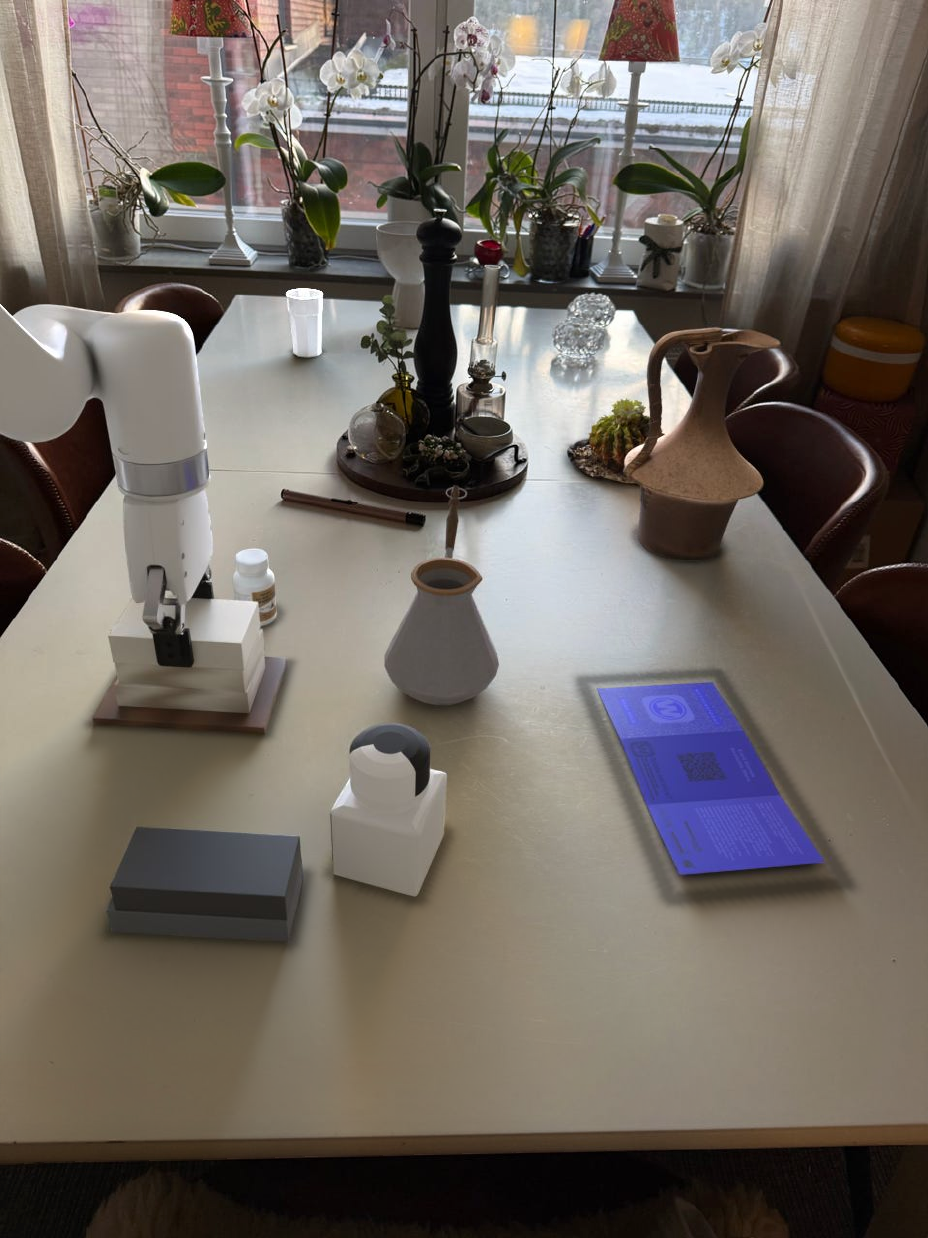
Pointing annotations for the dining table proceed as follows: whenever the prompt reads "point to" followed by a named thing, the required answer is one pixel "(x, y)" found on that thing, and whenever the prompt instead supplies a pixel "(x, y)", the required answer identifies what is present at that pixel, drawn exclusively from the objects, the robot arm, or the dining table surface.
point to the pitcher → (694, 450)
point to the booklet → (704, 780)
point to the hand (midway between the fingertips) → (188, 639)
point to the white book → (192, 633)
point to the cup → (305, 321)
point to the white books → (195, 695)
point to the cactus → (612, 441)
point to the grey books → (207, 884)
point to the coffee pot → (443, 630)
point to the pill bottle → (255, 583)
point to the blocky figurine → (389, 810)
